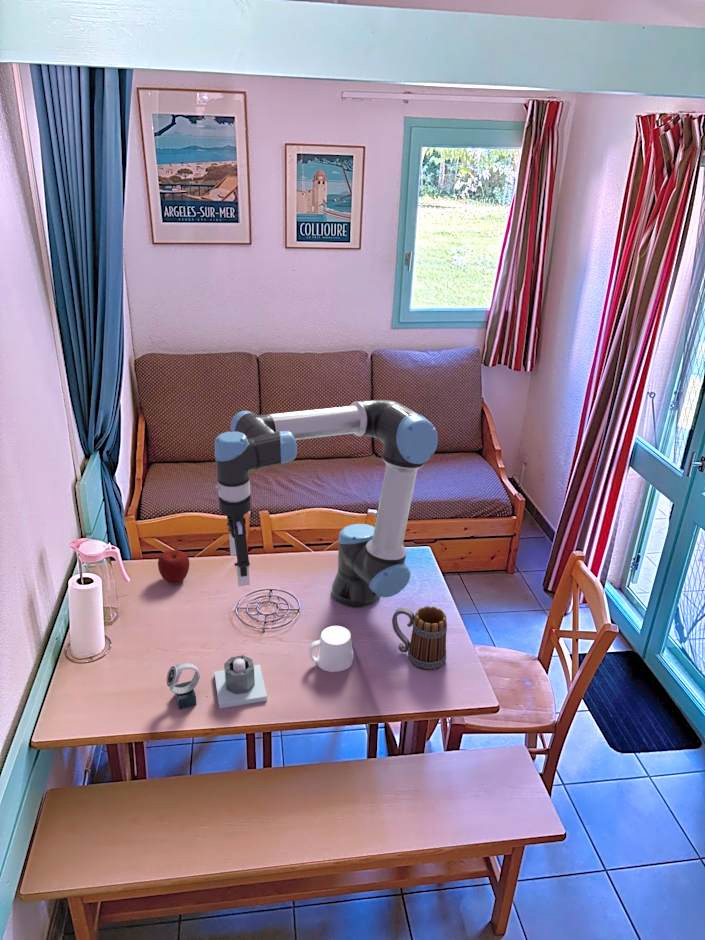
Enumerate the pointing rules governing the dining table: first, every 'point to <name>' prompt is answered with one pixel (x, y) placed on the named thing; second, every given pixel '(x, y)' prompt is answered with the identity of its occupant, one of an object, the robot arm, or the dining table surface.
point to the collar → (239, 676)
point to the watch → (183, 685)
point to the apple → (173, 566)
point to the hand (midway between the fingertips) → (239, 569)
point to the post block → (233, 699)
